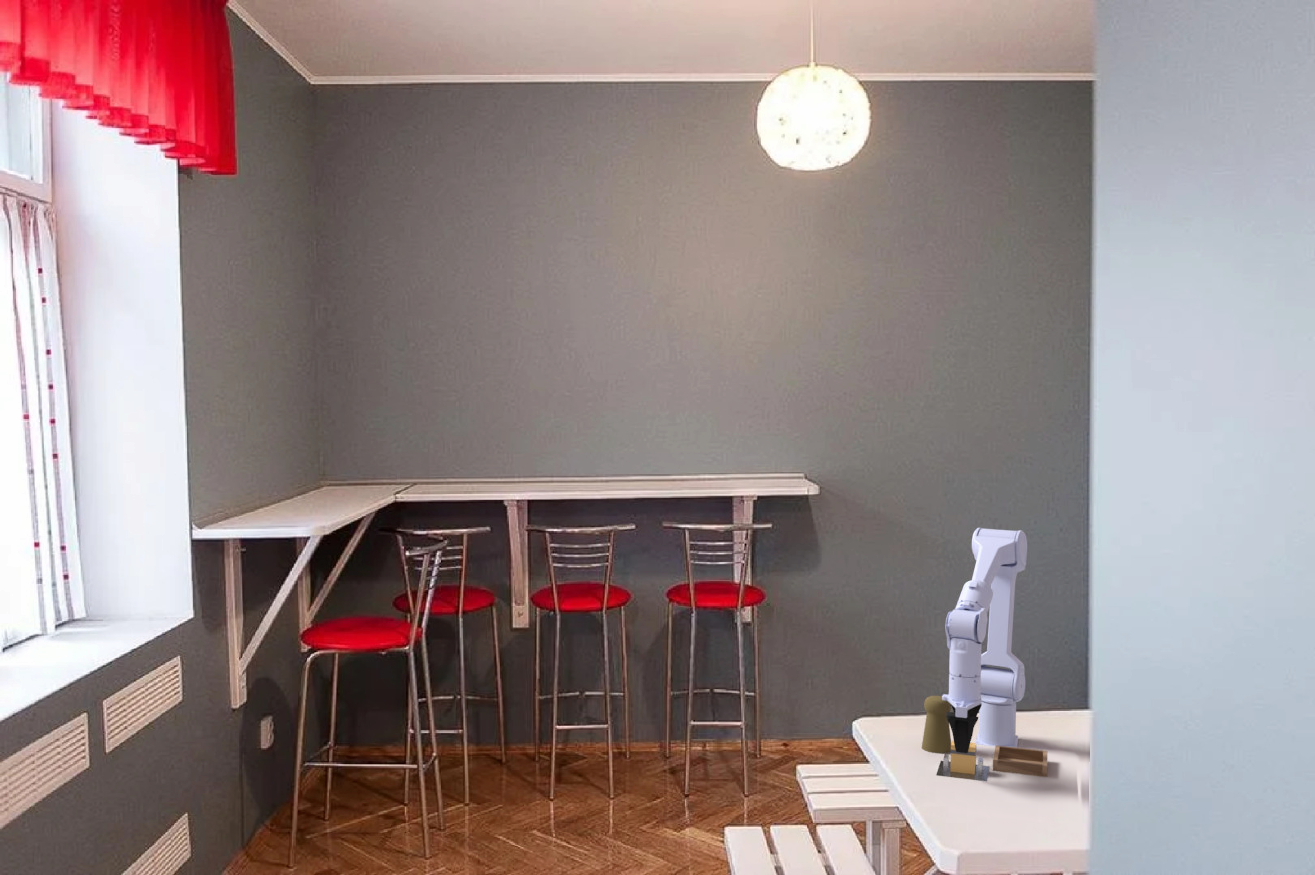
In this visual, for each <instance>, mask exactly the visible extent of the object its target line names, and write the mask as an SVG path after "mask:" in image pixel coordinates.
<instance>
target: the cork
mask: <svg viewBox="0 0 1315 875" xmlns="http://www.w3.org/2000/svg"><path fill="white" fill-rule="evenodd" d="M942 696H943V695H941V696H940V695H929V696H928V697H926V698H925V700H924V703H923V705H924V706H923V707H924V710H925V712H926V717H925V722H924V730H923V736H922V738H923V739H922V743H921V749H922V750H923V751H925V752H928V753H932V754H945V753H946V754H949V753H950V752H951V743H952V738H951V727H950V724H949V722H948V720H947V717H946V714H947V712H951V709H952V706H951V703H950V702H949V701H946V700H942Z"/></svg>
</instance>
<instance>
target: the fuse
mask: <svg viewBox="0 0 1315 875" xmlns="http://www.w3.org/2000/svg"><path fill="white" fill-rule="evenodd" d="M977 748H978V747H977V744H976V742H970V746H969V750H968V753H960V752H956V750H955V745H954V740H951V752H949V753H950V762H951V768H950V772H959V773H967V774H975V772H976V765H977Z"/></svg>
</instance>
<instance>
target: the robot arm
mask: <svg viewBox="0 0 1315 875" xmlns="http://www.w3.org/2000/svg"><path fill="white" fill-rule="evenodd" d="M971 551H972V554H973V555H974V556H973V557H974V560H975V561H976V562H975V566H974V570H973V574H972V578H971V580H969V581H966V582H965V583H964V585H963V587H962V590H961V592H960V595H959V598H958V600H957V603H956V605H955V608H954V609H952V611H951V610H950V611H949V612H948V613H947V616H946V618H945V629H944V630H945V637H946V644H947V645H946V646H947V649H949V660H948V661H949V662H948V663H949V665H948V666H949V668H948V669H949V670H948V672H949V674H948V694H946V693H944V694H942V695H941V696H942V700H946V701H949V702H950V703H951V709H952V711H953V712H951V711H950V712H947V714H946V717H947V720H948V722H949V727H950V731H951V733H952V738H953V741H954V745H955V750H956V752H960V753H968V750H969V746H970V743H971V741H972V738H973V734H974V729H975V726H976V724H977V723H978V732H977V734H976V735H977V736H976V740H975V743H976V745H980V746H988V747H995V746H996V745H997V746H1007V747H1016V748H1018V744H1019V743H1018V742H1019V736H1018V735H1017V734H1016V727H1017V725H1016V724H1017V722H1016V721H1017V702H1018V703H1019V702H1021V700H1022V699H1023V698H1024V696H1025V693H1026V676H1025V665H1024V663H1023V662H1022V661H1021V660H1020V659H1019V658H1018V657H1017V656H1016V655H1014V653H1012V645H1013V644H1012V643H1013V642H1012V641H1013V628H1014V627H1013V626H1014V624H1013V623H1014V608H1015V596H1016V595H1015V593H1016V580H1017V575H1018V573H1020V572H1022V571H1025V570H1026V566H1027V556H1028V539H1027V535H1026V534H1025V532H1024V530H1021V529H1019V530H1010V529H1009V530H1007V529H993V528H983V527H977V528H976V529H975V530H974V531H973V534H972V539H971ZM988 612H989V614H988ZM988 615H989V617H988ZM987 625H988V628H987ZM986 633H987V648H986V651H985V652H983V653H982V644H983V642H984V641H985V638H986ZM995 666H996V667H995ZM1000 667H1001V668H1000Z"/></svg>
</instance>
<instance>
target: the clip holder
mask: <svg viewBox="0 0 1315 875" xmlns="http://www.w3.org/2000/svg"><path fill="white" fill-rule="evenodd" d="M950 768H951V761H950V754H949V753H944V755H943V759H942V760H940V763H939V765H938V769H937V772H936V774H935V776H937V777H938V776H939V777H945V778H946V777H947V778H955V779H964V780H971V781H978V782H979V781H980V782H988V777H989V770H990V766H989V765H984V757H978V760H977V764H976V772H975V774H967V773H959V772H950Z"/></svg>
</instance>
